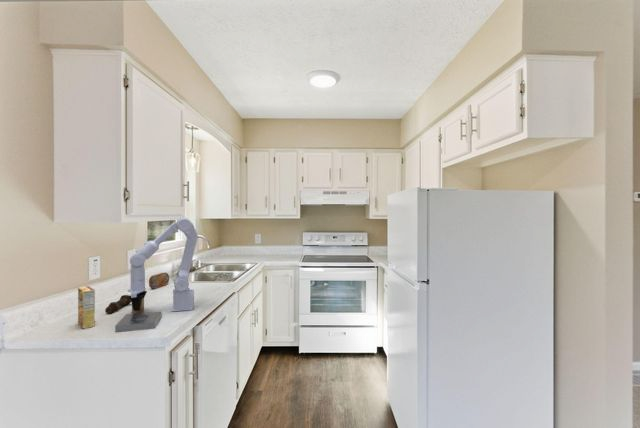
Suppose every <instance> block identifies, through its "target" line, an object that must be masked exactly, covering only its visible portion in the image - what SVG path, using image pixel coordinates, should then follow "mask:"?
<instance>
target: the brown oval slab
mask: <svg viewBox="0 0 640 428" xmlns="http://www.w3.org/2000/svg"><path fill="white" fill-rule="evenodd" d="M169 282H170V275H169V273H168V272H159V273H157V274H153V275H150V277H149V279H148V285H149V288H150V289H152V290H158V289H159V288H162V287H166V286H167V285H168V284H169Z"/></svg>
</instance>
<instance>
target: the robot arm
mask: <svg viewBox="0 0 640 428" xmlns="http://www.w3.org/2000/svg"><path fill="white" fill-rule="evenodd" d="M179 231H180V232H182V233H183V234H184V236H185V237H186V242H185V245H184V249H183V254H182V257H181V261H180V264H179V268H178V269H179V270H178V272H177V274H176V277H174V280H173V284H174V285H173V286H174V288H173V291H172V294H173V295H172V297H173V299H172V301H173V302H172V303H173V304H172V305H173V307H172V308H171V311H170V312H182V311H183V312H184V311H193V310H194V307H195V304H196V302H195V289H190V288H189V286H190V282H189V276H190V270H191V265H192V263H193V262H192V261H193V257H194V255H195V254H194V253H195V251H196V245H197V242H198V237H199V235H198V233H197V230H196V228H195V225H194V223H192V221H191V220H190V219H188V218H187V217H180V218H178V219H177V220H176V221H175V222H173V223H171V224H170V225H169V226H167V227H166V228H165V229H164V230H163V231H162V232H160V234H159V235H158V236H157V237H156V238H155V239H154V240H148V241H145V242H144V243H143V244H144V245H143V246H141V247H140V248H139V249H137V250H135V253H133V255H131V257H130V259H129V264H130V289H127V292H130V295H129V299H130V301H131V303H130V304H131V307H132V306H133V309H134V311H139V310H140V305H141V300H142V298H144V299H145V298H146V297H145V296H146V294H147V293H148V291H147V290H146V269H145V261H146V260H149V259H150V258H151V257H152V256H153V255H154V254H155V253H156V252H157V251H158V250H159V249H160V245H161V244H162V243H163V242H164V241H166V239H168V238H169V237H170V236H171V235H172V234H176V233H179Z"/></svg>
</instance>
